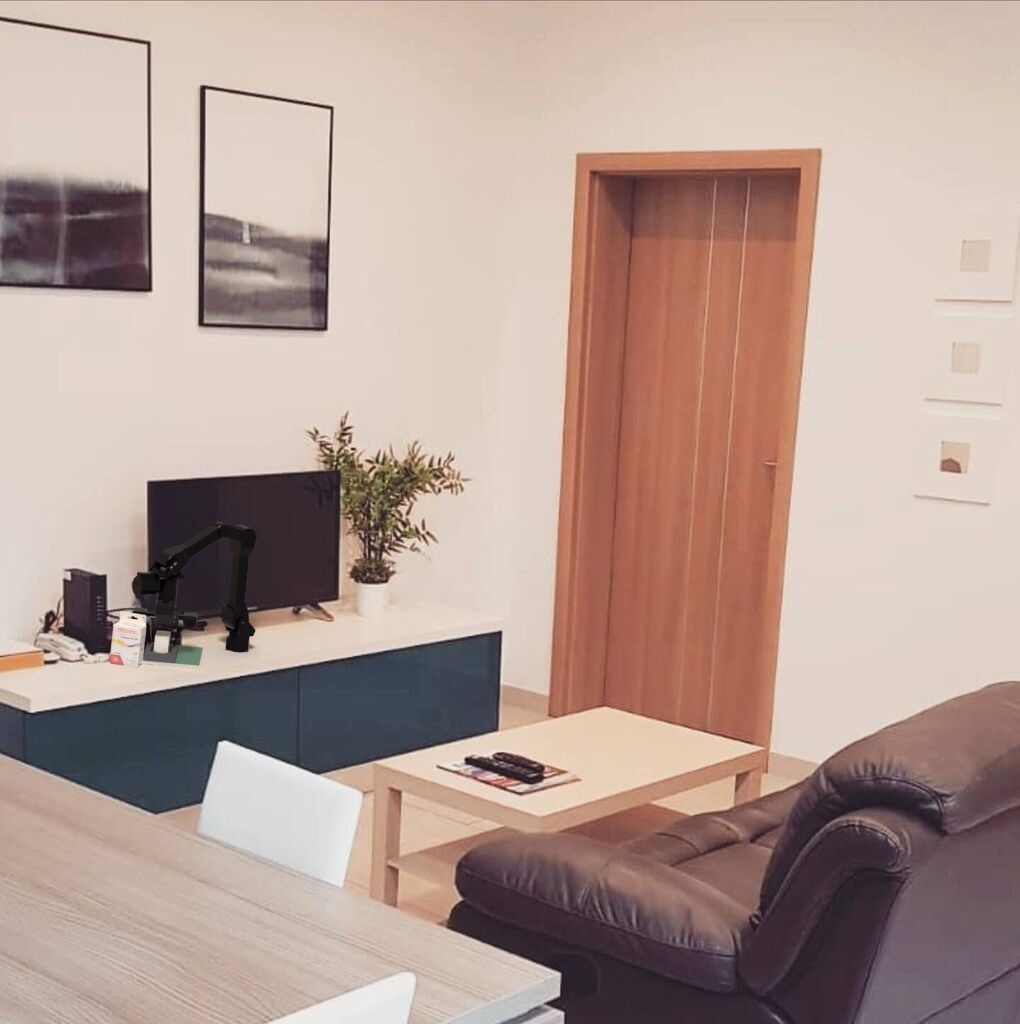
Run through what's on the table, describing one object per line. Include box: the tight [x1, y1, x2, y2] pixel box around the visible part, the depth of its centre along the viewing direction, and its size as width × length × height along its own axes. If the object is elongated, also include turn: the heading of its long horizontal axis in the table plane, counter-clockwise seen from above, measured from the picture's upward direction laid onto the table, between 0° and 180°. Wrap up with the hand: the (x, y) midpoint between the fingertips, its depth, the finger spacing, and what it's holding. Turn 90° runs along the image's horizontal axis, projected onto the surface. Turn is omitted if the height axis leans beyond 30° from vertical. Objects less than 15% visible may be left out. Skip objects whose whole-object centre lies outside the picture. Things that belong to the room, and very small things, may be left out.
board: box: [143, 641, 204, 667], centre depth 457 cm, size 16×20×4 cm
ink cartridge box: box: [109, 610, 147, 668], centre depth 443 cm, size 9×5×15 cm, turn 85°
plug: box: [153, 630, 171, 653], centre depth 451 cm, size 4×7×7 cm, turn 8°
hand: (162, 645), depth 452 cm, fingers open, 7 cm apart
